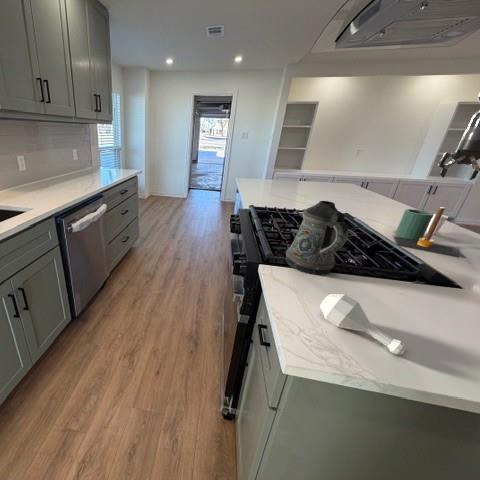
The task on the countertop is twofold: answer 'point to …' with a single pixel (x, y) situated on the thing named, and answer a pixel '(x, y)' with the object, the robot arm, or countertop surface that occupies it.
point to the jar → (414, 224)
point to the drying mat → (435, 247)
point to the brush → (431, 230)
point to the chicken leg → (355, 320)
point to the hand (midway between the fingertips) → (455, 178)
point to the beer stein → (318, 239)
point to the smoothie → (440, 223)
